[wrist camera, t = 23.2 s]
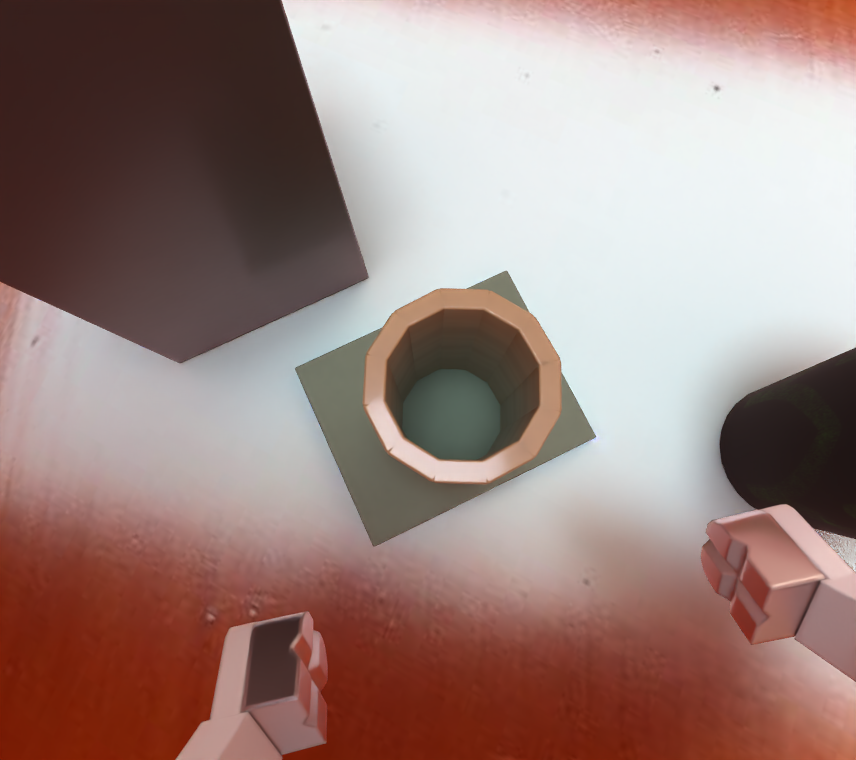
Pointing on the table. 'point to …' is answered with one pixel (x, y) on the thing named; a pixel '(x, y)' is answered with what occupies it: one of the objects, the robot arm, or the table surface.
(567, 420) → the felt coaster
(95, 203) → the peg stand
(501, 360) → the orange hollow cylinder
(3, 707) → the table surface
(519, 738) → the table surface
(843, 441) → the cup
